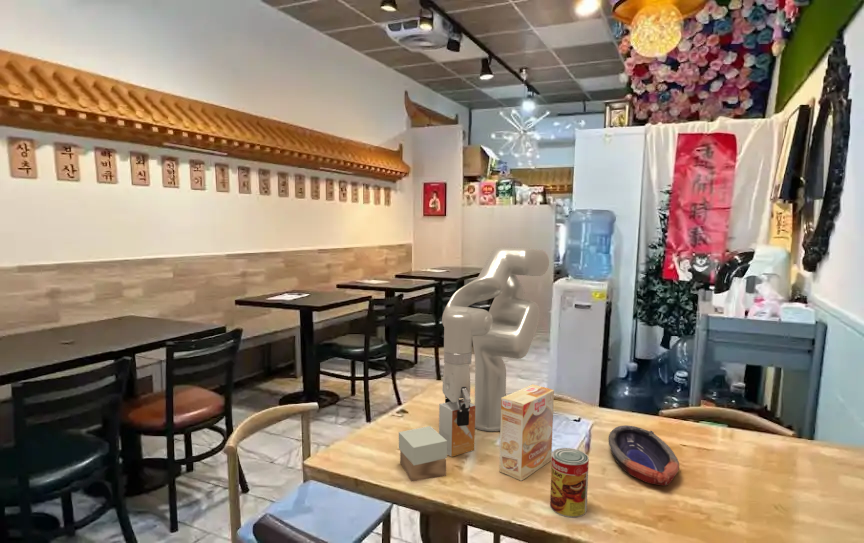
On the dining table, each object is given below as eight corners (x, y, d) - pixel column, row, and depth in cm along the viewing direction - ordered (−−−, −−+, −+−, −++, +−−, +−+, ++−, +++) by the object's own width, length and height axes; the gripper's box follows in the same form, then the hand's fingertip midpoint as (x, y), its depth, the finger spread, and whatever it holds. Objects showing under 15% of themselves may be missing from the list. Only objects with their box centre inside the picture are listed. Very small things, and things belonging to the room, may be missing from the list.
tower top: (430, 442, 139) (430, 426, 138) (447, 458, 130) (447, 440, 129) (398, 448, 135) (398, 432, 135) (413, 465, 126) (413, 447, 126)
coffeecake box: (521, 481, 127) (523, 404, 125) (497, 471, 132) (499, 397, 130) (552, 460, 138) (555, 389, 136) (529, 452, 143) (531, 383, 141)
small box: (451, 457, 139) (452, 410, 138) (438, 448, 144) (438, 403, 143) (475, 450, 144) (476, 404, 142) (461, 442, 149) (462, 398, 147)
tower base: (432, 459, 139) (432, 442, 138) (445, 476, 130) (446, 459, 129) (400, 464, 136) (400, 447, 136) (411, 482, 127) (411, 465, 126)
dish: (655, 440, 151) (656, 423, 151) (693, 497, 121) (694, 476, 120) (599, 437, 153) (600, 420, 153) (623, 491, 123) (624, 471, 122)
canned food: (545, 498, 119) (547, 448, 118) (579, 497, 120) (580, 447, 119) (556, 518, 112) (558, 464, 110) (592, 516, 112) (594, 463, 111)
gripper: (434, 350, 148) (433, 409, 150) (455, 367, 132) (454, 432, 133) (459, 349, 150) (458, 406, 152) (482, 365, 134) (481, 429, 136)
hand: (456, 418), depth 143 cm, fingers open, 9 cm apart
